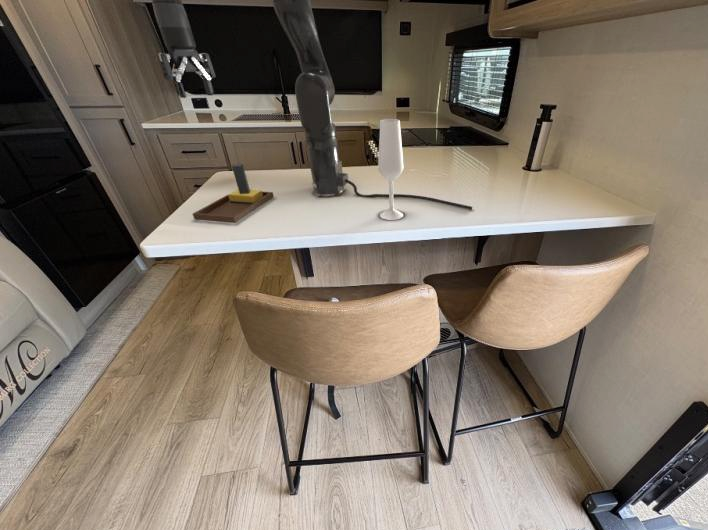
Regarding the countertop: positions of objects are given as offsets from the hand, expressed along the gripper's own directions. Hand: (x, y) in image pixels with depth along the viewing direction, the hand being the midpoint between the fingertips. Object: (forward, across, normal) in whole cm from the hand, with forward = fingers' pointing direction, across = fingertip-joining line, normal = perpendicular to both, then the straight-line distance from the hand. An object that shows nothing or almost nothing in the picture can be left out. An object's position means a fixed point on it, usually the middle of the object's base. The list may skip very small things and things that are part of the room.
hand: (197, 96), depth 99 cm
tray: (+27, -12, -21) cm, 36 cm away
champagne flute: (+28, +8, -63) cm, 69 cm away
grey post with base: (+26, -6, -19) cm, 33 cm away
